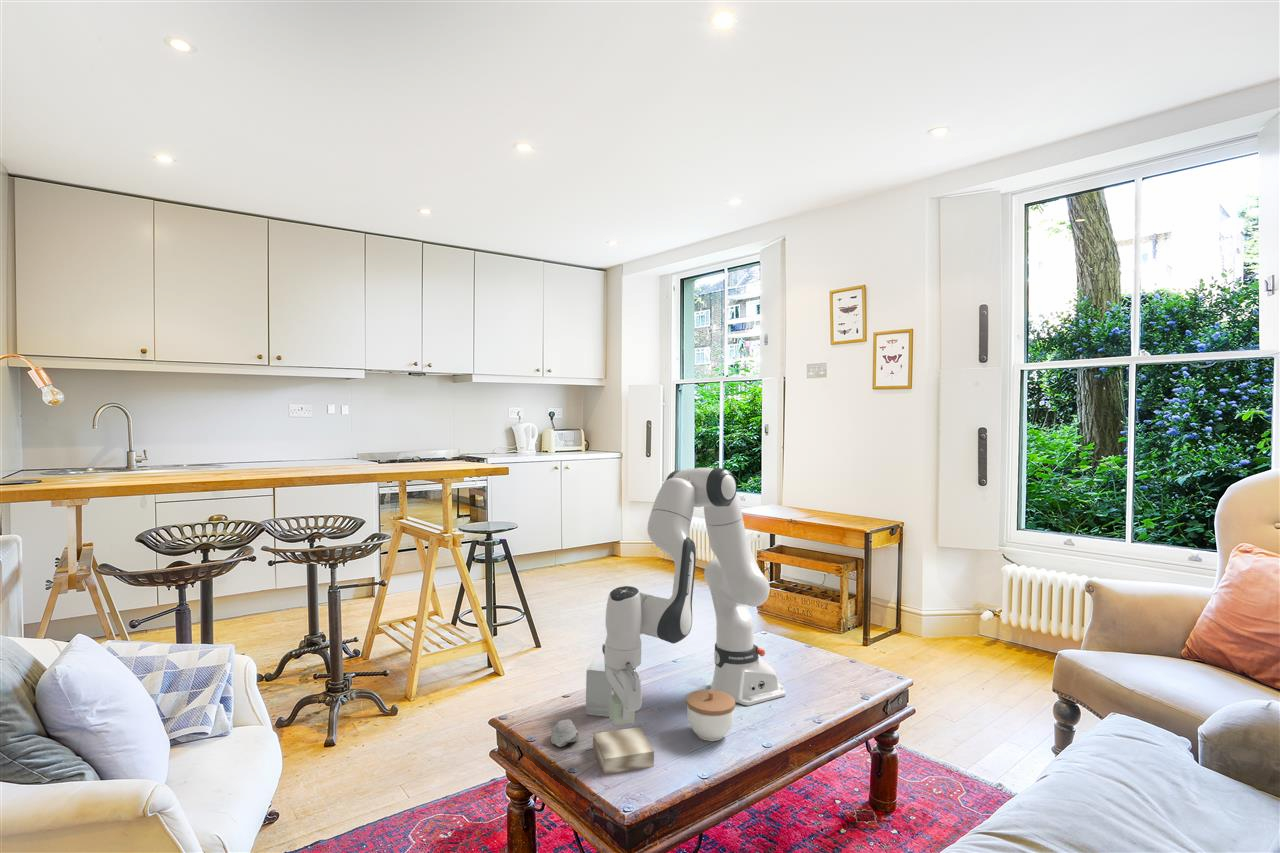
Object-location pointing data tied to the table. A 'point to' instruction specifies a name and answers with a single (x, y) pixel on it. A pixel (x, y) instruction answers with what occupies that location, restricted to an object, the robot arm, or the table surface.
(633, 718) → the sage cube
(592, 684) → the supplement box
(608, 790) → the table surface
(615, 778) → the table surface
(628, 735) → the ash block
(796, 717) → the table surface
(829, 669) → the table surface
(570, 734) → the white clam shell
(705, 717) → the lidded bowl
